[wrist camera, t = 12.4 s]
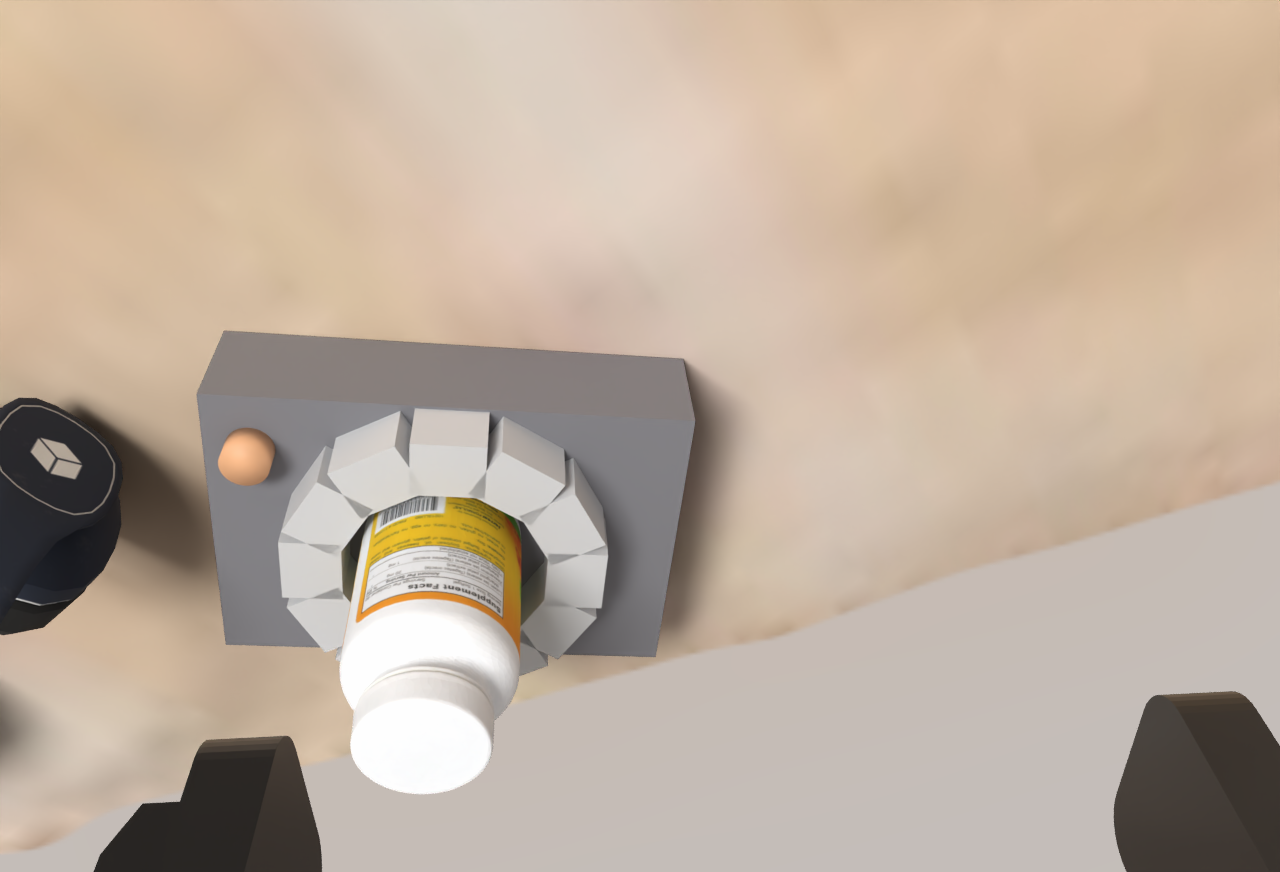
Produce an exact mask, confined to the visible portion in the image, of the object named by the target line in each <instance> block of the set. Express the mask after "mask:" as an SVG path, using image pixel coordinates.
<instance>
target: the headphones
mask: <svg viewBox="0 0 1280 872" xmlns="http://www.w3.org/2000/svg"><path fill="white" fill-rule="evenodd" d="M122 480H123V475H122V462H121V460H120V458H119V456H118V455H117V453H116V451H115V449H114V447H113V446H112V445H111V444H110V443H109V442H108V441H107V440H106V439H104V438H103V437H102V436H101V435H100V434H99V433H98V432H97V431H95V430H94V429H92V428H91V427H90V426H88V425H87V424H85V423H84V422H83V421H81V420H80V419H78V418H77V417H75V416H73V415H71V414H70V413H68V412H66V411H64V410H62V409H61V408H59V407H57V406H55V405H52V404H50V403H47V402H45V401H42V400H40V399H37V398H18V399H16V400H14V401H12V402H10V403H8V404H6V405H4V406H3V408H0V634H1V635H7V634H13V633H18V632H23V631H28V630H33V629H38V628H43V627H44V626H46V625H47V624H48V623H49V622H50V621H51V620H53V619H54V618H55V617H56V616H57V615H58V614H59V613H61V612H62V611H63V610H64V609H65V608H66V607H68V606H69V605H70V604H71V603H72V602H73V601H74V600H75V599H77V598H78V597H79V596H80V595H81V594H82V593H83V592H84V591H85V589H86V588H87V586H88V585H89V584H90V583H92V581H93V580H94V579H95V578H96V577H97V576H98V575H99V574H100V573H101V572H102V571H103V570H104V568H105V566H106V564H107V562H108V560H109V559H110V557H111V555H112V553H113V551H114V549H115V547H116V543H117V539H118V535H119V531H120V528H121V509H120V499H119V497H118V495H119V491H120V487H121V483H122Z"/></svg>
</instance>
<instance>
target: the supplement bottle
mask: <svg viewBox="0 0 1280 872" xmlns="http://www.w3.org/2000/svg"><path fill="white" fill-rule="evenodd" d="M520 624H521V531H520V526H519V523H518V520H517V519H516V518H514V517H512V516H510V515H508V514H506V513H504V512H502V511H500V510H498V509H497V508H495V507H493V506H491V505H489V504H487V503H485V502H483V501H481V500H479V499H477V498H463V497H441V496H419V495H418V496H416V497H413V498H411V499H408V500H406V501H404V502H401V503H399V504H396V505H394V506H391V507H389V508H386V509H384V510H381V511H379V512H376V513H374V514H371V515H369V516H368V518H367V521H366V525H365V529H364V534H363V538H362V544H361V550H360V555H359V560H358V566H357V571H356V577H355V582H354V588H353V593H352V599H351V604H350V609H349V614H348V620H347V625H346V630H345V635H344V641H343V646H342V652H341V661H340V682H341V686H342V690H343V693H344V695H345V697H346V699H347V701H348V703H349V705H350V706H351V708H352V709H353V710H354V715H353V727H352V734H351V743H350V745H351V753H352V757H353V759H354V762H355V763H356V765H357V767H358V768H359V769H360V770H361V771H362V773H363V774H365V775H366V776H367V777H368V778H370V779H371V780H372V781H374V782H375V783H377V784H379V785H381V786H383V787H386V788H388V789H391V790H394V791H399V792H403V793H410V794H434V793H441V792H445V791H450V790H453V789H456V788H458V787H461V786H463V785H465V784H466V783H468V782H470V781H471V780H473V779H474V778H476V777H477V776H478V775H479V774H480V773H481V772H482V771H483V770H484V769H485V767H486V766H487V764H488V762H489V760H490V758H491V755H492V750H493V739H494V738H493V737H494V720H496V719H497V718H498V717H499V716H500V715H501V714H502V713H503V712H504V711H505V709H506V708H507V707H508V705H509V704H510V702H511V700H512V698H513V696H514V694H515V692H516V689H517V685H518V680H519V668H520Z"/></svg>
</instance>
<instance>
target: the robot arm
mask: <svg viewBox="0 0 1280 872" xmlns="http://www.w3.org/2000/svg"><path fill="white" fill-rule="evenodd" d="M1114 827H1115V835H1116V840H1117V845H1118V849H1119V853H1120V856H1121V859H1122V862H1123V864H1124V867H1125V869H1126V871H1127V872H1280V746H1279V744H1278V742H1277V741H1276V739H1275V738H1274V737H1273V735H1272V733H1271V731H1270V730H1269V729H1268V727H1267V725H1266V724H1265V722H1264V721H1263V719H1262V717H1261V716H1260V714H1259V713H1258V711H1257V710H1256V708H1255V707H1254V706H1253V704H1252V703H1251V702H1250V701H1249V700H1248V699H1247V698H1246V697H1245V696H1243V695H1242V694H1240V693H1237V692H1232V691H1230V692H1213V693H1212V692H1211V693H1190V694H1170V695H1156V696H1154V697H1152V698H1151V699H1150V700H1149V701H1148V703H1147V704H1146V706H1145V709H1144V712H1143V715H1142V718H1141V721H1140V724H1139V727H1138V730H1137V733H1136V736H1135V739H1134V743H1133V746H1132V748H1131V751H1130V754H1129V758H1128V760H1127V764H1126V767H1125V770H1124V773H1123V776H1122V779H1121V782H1120V785H1119V788H1118V791H1117V794H1116V798H1115V804H1114ZM321 857H322V856H321V845H320V839H319V835H318V830H317V827H316V823H315V820H314V816H313V812H312V808H311V805H310V801H309V797H308V793H307V789H306V786H305V782H304V778H303V775H302V771H301V767H300V763H299V760H298V756H297V752H296V749H295V746H294V743H293V741H292V739H291V738H290V737H288V736H275V737H256V738H236V739H216V740H206V741H205V742H204V743H202V745H201V746H200V747H199V749H198V751H197V753H196V756H195V758H194V761H193V764H192V767H191V770H190V773H189V776H188V779H187V782H186V785H185V788H184V791H183V794H182V797H181V801H180V802H166V803H147V804H142V805H141V806H140V808H139V809H138V810H137V811H136V812H135V813H134V815H133V816H132V817H131V818H130V820H129V821H128V822H127V823H126V824H125V826H124V827H123V828H122V829H121V830H120V832H119V833H118V834H117V835H116V836H115V838H114V839H113V840H112V841H111V842H110V843H109V845H108V846H107V847H106V848H105V850H104V851H103V852H102V853H101V854H100V857H99V859H98V862H97V864H96V867H95V870H94V872H322V858H321Z"/></svg>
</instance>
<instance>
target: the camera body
mask: <svg viewBox="0 0 1280 872" xmlns="http://www.w3.org/2000/svg"><path fill="white" fill-rule="evenodd" d="M197 402H198V410H199V419H200V428H201V436H202V445H203V453H204V462H205V470H206V479H207V487H208V496H209V505H210V513H211V522H212V530H213V539H214V547H215V556H216V564H217V573H218V581H219V590H220V599H221V607H222V616H223V624H224V633H225V641H226V645H257V646H292V647H321V648H322V649H323V651H324V652H325V653H326V652H328V651H331V650H333V649H336V648H338V649H337V654H336V659H335V660H337V661H341V652H342V646H343V641H344V635H345V630H346V625H347V620H348V614H349V609H350V604H351V599H352V593H353V588H354V582H355V577H356V571H357V566H358V560H359V555H360V550H361V544H362V538H363V534H364V529H365V525H366V521H367V518H368V516H369V515H371V514H374V513H376V512H379V511H381V510H384V509H386V508H389V507H391V506H394V505H396V504H399V503H401V502H404V501H406V500H408V499H411V498H413V497H416V496H418V495H419V496H441V497H463V498H477V499H479V500H481V501H483V502H485V503H487V504H489V505H491V506H493V507H495V508H497V509H498V510H500V511H502V512H504V513H506V514H508V515H510V516H512V517H514V518H516V519H517V520H518V523H519V526H520V531H521V624H520V668H519V676H521V675H524V674H527V673H529V672H532V671H535V670H537V669H540V668H543V667H546V666H548V655H550V656H552V657H554V658H556V659H559V658H560V656H561V655H562V654H567V655H601V656H636V657H656V651H657V645H658V639H659V633H660V627H661V622H662V616H663V610H664V604H665V598H666V592H667V586H668V580H669V574H670V568H671V562H672V557H673V551H674V545H675V539H676V533H677V527H678V521H679V515H680V509H681V503H682V497H683V492H684V486H685V480H686V474H687V468H688V462H689V456H690V450H691V444H692V438H693V432H694V427H695V416H694V411H693V406H692V401H691V396H690V391H689V386H688V381H687V376H686V371H685V366H684V361H683V359H676V358H660V357H643V356H627V355H611V354H594V353H578V352H561V351H545V350H529V349H512V348H496V347H480V346H463V345H447V344H430V343H414V342H398V341H381V340H365V339H349V338H332V337H316V336H299V335H283V334H267V333H250V332H234V331H224V332H223V334H222V337H221V339H220V341H219V344H218V346H217V348H216V350H215V353H214V355H213V357H212V360H211V362H210V364H209V366H208V369H207V371H206V373H205V376H204V378H203V380H202V383H201V385H200V387H199V389H198V392H197Z"/></svg>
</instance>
